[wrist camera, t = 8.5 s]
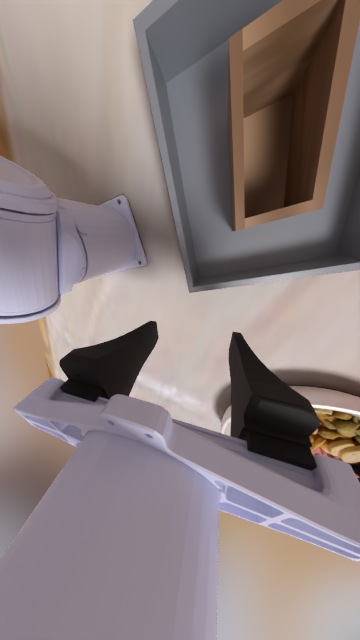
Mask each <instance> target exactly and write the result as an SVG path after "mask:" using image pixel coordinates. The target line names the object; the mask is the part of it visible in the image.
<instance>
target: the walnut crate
mask: <svg viewBox="0 0 360 640" xmlns="http://www.w3.org/2000/svg"><path fill="white" fill-rule="evenodd" d="M359 22H360V0H283V1H281V2H280V3H278V4H277V5H276V6H274V7H273V8H271V9H270V10H268V11H267V12H266V13H264V14H263V15H261V16H260V17H258V18H257V19H256V20H254V21H253V22H251V23H250V24H248V25H247V26H246V27H244V28H243V29H241V30H240V31H238V32H237V33H236V34H234V35H233V36H231V37H230V38H229V61H228V140H229V162H230V185H231V207H232V229H233V231H237V230H241V229H245V228H249V227H253V226H257V225H260V224H264V223H268V222H272V221H276V220H280V219H284V218H288V217H291V216H295V215H299V214H303V213H307V212H311V211H315V210H319V209H323V205H324V200H325V195H326V190H327V184H328V179H329V174H330V169H331V164H332V159H333V154H334V149H335V144H336V139H337V134H338V129H339V124H340V119H341V114H342V108H343V103H344V98H345V93H346V88H347V83H348V78H349V73H350V68H351V63H352V58H353V53H354V48H355V43H356V37H357V32H358V27H359Z"/></svg>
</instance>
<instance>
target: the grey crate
mask: <svg viewBox="0 0 360 640" xmlns="http://www.w3.org/2000/svg"><path fill="white" fill-rule="evenodd" d="M281 1H283V0H153V1H152V2H151V3H150V4H149V5H148V6H147V7H146V8H145V9H144V10H143V11H142V12H141V13H140V14H139V15H138V16H137V17H136V18H135V19H133V23H134V28H135V32H136V37H137V42H138V47H139V52H140V57H141V61H142V66H143V71H144V76H145V81H146V86H147V91H148V95H149V100H150V105H151V110H152V115H153V120H154V124H155V129H156V134H157V139H158V144H159V149H160V153H161V158H162V163H163V168H164V173H165V178H166V183H167V187H168V192H169V197H170V202H171V207H172V212H173V216H174V221H175V226H176V231H177V236H178V241H179V245H180V250H181V255H182V260H183V265H184V270H185V275H186V279H187V284H188V289H189V293H191V292H198V291H206V290H213V289H221V288H228V287H236V286H243V285H250V284H258V283H265V282H273V281H280V280H288V279H295V278H302V277H310V276H317V275H325V274H332V273H340V272H347V271H354V270H360V22H359V27H358V32H357V37H356V43H355V48H354V53H353V58H352V63H351V68H350V73H349V78H348V83H347V88H346V93H345V98H344V103H343V108H342V114H341V119H340V124H339V129H338V134H337V139H336V144H335V149H334V154H333V159H332V164H331V169H330V174H329V179H328V184H327V190H326V195H325V200H324V205H323V209H319V210H315V211H311V212H307V213H303V214H299V215H295V216H291V217H288V218H284V219H280V220H276V221H272V222H268V223H264V224H260V225H257V226H253V227H249V228H245V229H241V230H237V231H233V229H232V207H231V185H230V162H229V140H228V61H229V38H230V37H231V36H233V35H234V34H236V33H237V32H238V31H240V30H241V29H243V28H244V27H246V26H247V25H248V24H250V23H251V22H253V21H254V20H256V19H257V18H258V17H260V16H261V15H263V14H264V13H266V12H267V11H268V10H270V9H271V8H273V7H274V6H276V5H277V4H278V3H280V2H281Z"/></svg>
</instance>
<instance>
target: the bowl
mask: <svg viewBox="0 0 360 640" xmlns="http://www.w3.org/2000/svg"><path fill="white" fill-rule="evenodd" d="M289 387H291V388H292V389H293V390H295V391H296V392H298V393H299V394H301V395H302V396H304V397H305V398H306V399H308V400H309V401H310V403H311V405H312V406H313V408H314V410H315V412H316V414H317V416H318V418H319V420H320V426H319V427H318V429H317V430H316V431H315V432H314V433H313V434H312V435H310V436H309V438H310V441H311V443H312V447H310V449H311V452H312V454H313V455H322V456H326V457H329V458H333V459H336V460H340V461H343V462H346V463H348V464H350V466H351V468H352V469H353V471H354V473H355V475H356V477H357V479H358V481H359V483H360V397H357V396H354V395H351V394H347V393H344V392H339V391H335V390H330V389H324V388H317V387H307V386H289ZM230 433H231V405H230V406H229V407H228V408H227V410H226V412H225V413H224V416H223V419H222V424H221V434H225V435H228V436H230Z"/></svg>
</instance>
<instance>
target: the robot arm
mask: <svg viewBox="0 0 360 640" xmlns="http://www.w3.org/2000/svg"><path fill="white" fill-rule="evenodd" d="M119 200H120V201H121V204H119ZM139 261H141V264H140V262H139ZM146 264H147V260H146V257H145V254H144V250H143V247H142V244H141V241H140V238H139V235H138V231H137V228H136V225H135V222H134V219H133V216H132V213H131V209H130V206H129V203H128V200H127V198H126V196H124V195H120V196H118V197H115V198H113V199H111V200H109V201H107V202H105V203H102V204H100V205H98V206H97V205H92V204H87V203H83V202H78V201H73V200H68V199H64V198H59V197H56V195H55V194H54V193H53V192H52V191H51V190H50V189H49V188H48V187H47V186H46V184H45V183H44V182H43V181H42V180H41V179H40V178H38V177H37V176H36V175H34V174H33V173H31V172H30V171H28V170H26V169H25V168H23V167H21V166H19V165H17V164H16V163H14V162H12V161H10V160H8V159H6V158H4V157H2V156H0V324H13V323H23V322H28V321H33V320H37V319H40V318H43V317H45V316H47V315H49V314H50V313H52V312H53V311H55V310H56V309H57V307H58V306H59V304H60V301H61V294H64V293H66V292H69V291H72V287H73V285H74V284H76V283H79V282H82V281H85V280H88V279H91V278H94V277H97V276H101V275H105V274H109V273H114V272H118V271H123V270H127V269H131V268H136V267H140V266H144V265H146ZM157 340H158V331H157V323H156V322H155V321H149V322H147V323H146V324H144V325H142V326H140V327H138V328H137V329H135V330H133V331H131V332H129V333H127V334H125V335H123V336H120V337H118V338H116V339H113V340H110V341H107V342H104V343H101V344H97V345H93V346H89V347H84V348H79V349H74V350H72V351H71V352H70V353H68V354H67V355H66V356H65V357H63V358H62V359H61V360H60V367H61V368H62V370H63V371H64V373H65V374H66V376H67V377H68V380H67V381H66V382H64V381H63V380H60V379H57V378H53V377H50V378H49V379H48V380H46V381H45V382H44V383H43V384H42V385H40V386H39V387H38V388H37V389H35V390H34V391H33V392H32V393H31V394H29V395H28V396H27V397H26V398H25V399H24V400H22V401H21V402H20V403H18V404H17V405H16V406H15V407H14V408H13V410H14V411H16V412H17V413H18V414H19V415H21V416H22V417H23V418H24V419H25V420H27V421H28V422H29V423H30V424H32V425H33V426H34V427H36V428H38V429H41V430H43V431H45V432H48V433H49V434H52V435H54V436H56V437H58V438H60V439H62V440H64V441H66V442H68V443H70V444H72V445H74V446H76V447H77V449H76V450H75V451H74V453H73V454H72V456H71V457H70V459H69V460H68V462H67V463H66V465H65V466H64V467H63V469H62V471H61V472H60V473H59V475H58V476H57V477H56V479H55V480H54V482H53V483H52V485H51V486H50V488H49V489H48V490H47V492H46V493H45V495H44V496H43V498H42V499H41V501H40V502H39V504H38V505H37V507H36V508H35V509H34V511H33V512H32V514H31V515H30V517H29V518H28V520H27V521H26V522H25V524H24V525H23V527H22V528H21V530H20V531H19V533H18V534H17V535H16V537H15V538H14V540H13V541H12V542H11V544H10V546H9V547H8V548H7V550H6V551H5V553H4V554H3V556H2V557H1V558H0V640H216V626H217V585H218V544H219V543H218V542H219V510H220V511H223V512H226V513H229V514H232V515H234V516H237V517H240V518H243V519H246V520H249V521H252V522H254V523H257V524H260V525H263V526H265V527H268V528H271V529H274V530H277V531H279V532H282V533H285V534H287V535H290V536H293V537H296V538H298V539H301V540H304V541H306V542H309V543H311V544H314V545H317V546H319V547H322V548H324V549H327V550H329V551H332V552H334V553H337V554H339V555H341V556H344V557H346V558H349V559H351V560H354V561H360V483H359V481H358V479H357V477H356V475H355V473H354V471H353V469H352V468H351V466H350V464H348V463H346V462H343V461H340V460H336V459H333V458H329V457H326V456H322V455H313V454H312V452H311V449H310V447H312V443H311V441H310V438H309V436H310V435H312V434H313V433H314V432H315V431H316V430H317V429H318V427H319V426H320V420H319V418H318V416H317V414H316V412H315V410H314V408H313V406H312V405H311V403H310V401H309V400H308V399H306V398H305V397H304V396H302V395H301V394H299V393H298V392H296V391H295V390H293V389H292V388H291V387H289V386H288V385H287V384H285V383H284V382H283V381H282V380H280V379H279V378H278V377H277V376H276V375H274V374H273V373H272V372H271V371H270V370H269V369H268V368H267V367H266V366H265V365H264V364H263V363H262V362H261V361H260V360H259V359H258V357H257V356H256V355H255V354H254V352H253V351H252V350H251V348H250V347H249V346H248V344H247V343H246V341H245V339H244V338H243V336H242V334H241V333H237V332H233V333H232V338H231V343H230V348H229V367H230V377H231V433H230V436H228V435H225V434H221V433H218V432H215V431H211V430H208V429H205V428H202V427H198V426H195V425H192V424H188V423H185V422H182V421H178V420H175V419H172V418H171V415H170V414H169V412H168V411H167V410H166V409H164V408H163V407H161V406H159V405H156V404H153V403H150V402H146V401H143V400H139V399H136V398H132V397H129V394H130V392H131V389H132V387H133V385H134V383H135V380H136V378H137V376H138V374H139V372H140V370H141V368H142V366H143V364H144V363H145V361H146V360H147V358H148V356H149V355H150V353H151V352H152V350H153V348H154V347H155V345H156V343H157Z"/></svg>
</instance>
